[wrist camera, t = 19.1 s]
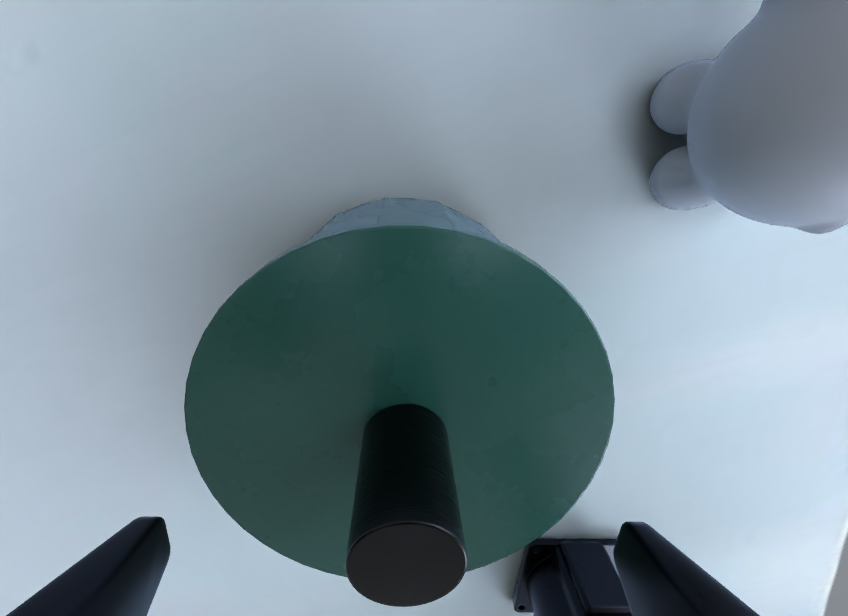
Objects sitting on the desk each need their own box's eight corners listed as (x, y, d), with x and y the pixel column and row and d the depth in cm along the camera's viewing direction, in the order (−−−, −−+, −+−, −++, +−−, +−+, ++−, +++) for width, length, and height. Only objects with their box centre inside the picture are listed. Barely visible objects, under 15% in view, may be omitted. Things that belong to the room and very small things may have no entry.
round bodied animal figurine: (839, -158, 14) (1400, -552, 6) (782, 193, 18) (1066, 226, 11) (633, -120, 14) (927, -460, 6) (626, 220, 19) (792, 273, 11)
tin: (499, 414, 22) (550, 554, 15) (292, 407, 21) (230, 551, 14) (535, 207, 18) (633, 249, 10) (281, 188, 17) (185, 219, 10)
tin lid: (554, 551, 15) (621, 729, 11) (225, 548, 14) (139, 741, 10) (642, 234, 11) (823, 298, 6) (176, 200, 10) (-22, 245, 5)
